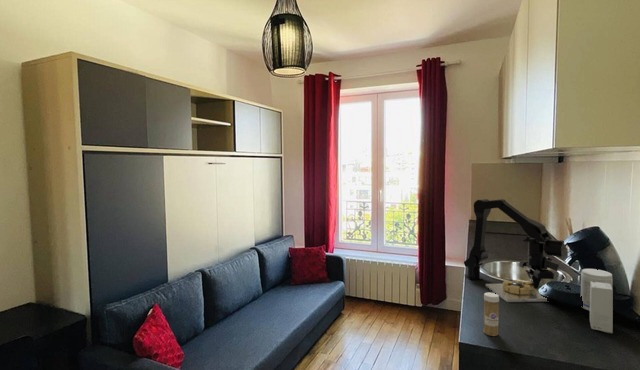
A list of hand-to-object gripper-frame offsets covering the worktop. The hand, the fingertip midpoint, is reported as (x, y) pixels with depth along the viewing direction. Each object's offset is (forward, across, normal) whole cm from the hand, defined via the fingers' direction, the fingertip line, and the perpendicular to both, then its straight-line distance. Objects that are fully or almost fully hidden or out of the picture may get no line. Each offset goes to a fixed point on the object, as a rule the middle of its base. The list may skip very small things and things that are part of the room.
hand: (535, 288), depth 147 cm
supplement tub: (+3, -13, -16) cm, 21 cm away
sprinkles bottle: (+3, -38, +30) cm, 49 cm away
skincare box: (+3, -28, -9) cm, 30 cm away
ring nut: (+1, +1, +6) cm, 6 cm away
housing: (+3, 0, +8) cm, 8 cm away
